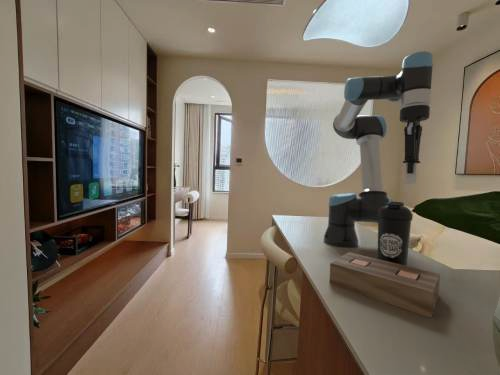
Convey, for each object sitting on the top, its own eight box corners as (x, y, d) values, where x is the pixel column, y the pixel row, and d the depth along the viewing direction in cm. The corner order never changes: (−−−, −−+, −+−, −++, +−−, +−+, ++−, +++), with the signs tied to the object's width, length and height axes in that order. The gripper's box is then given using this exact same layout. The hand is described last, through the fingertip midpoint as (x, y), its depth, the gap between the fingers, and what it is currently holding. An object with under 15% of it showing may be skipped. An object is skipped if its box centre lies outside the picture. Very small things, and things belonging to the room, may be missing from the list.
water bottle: (370, 269, 80) (374, 202, 79) (379, 261, 88) (382, 200, 87) (406, 278, 74) (410, 205, 72) (411, 269, 81) (415, 202, 80)
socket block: (347, 269, 80) (348, 252, 79) (438, 295, 63) (439, 273, 63) (329, 282, 70) (330, 262, 69) (431, 318, 53) (433, 292, 53)
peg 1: (354, 277, 73) (355, 258, 73) (368, 281, 71) (369, 262, 70) (349, 281, 70) (350, 262, 70) (363, 285, 68) (364, 266, 67)
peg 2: (399, 290, 65) (400, 270, 65) (417, 296, 62) (418, 274, 62) (396, 296, 62) (397, 274, 62) (414, 301, 59) (415, 279, 59)
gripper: (404, 113, 80) (401, 183, 81) (395, 104, 70) (391, 184, 71) (432, 109, 74) (428, 184, 76) (426, 99, 65) (421, 185, 66)
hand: (410, 184), depth 74 cm, fingers closed
